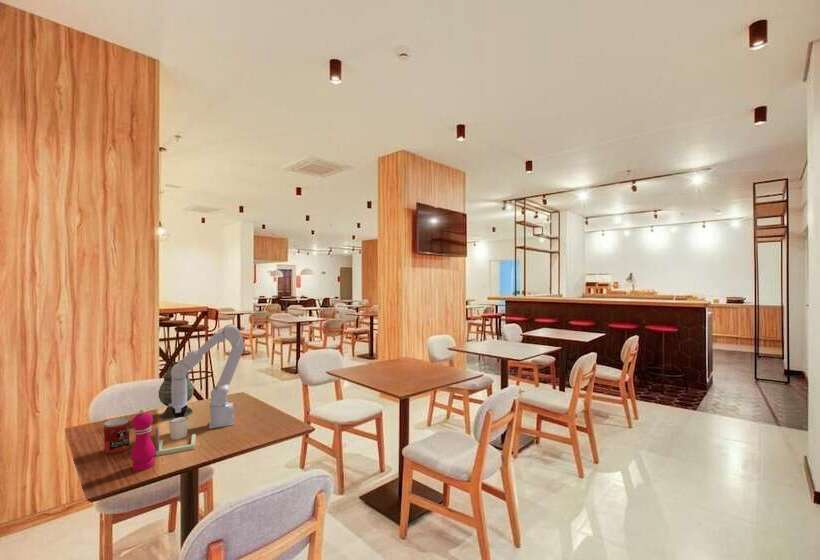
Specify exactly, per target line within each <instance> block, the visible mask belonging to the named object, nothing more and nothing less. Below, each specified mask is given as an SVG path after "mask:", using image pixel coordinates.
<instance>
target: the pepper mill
mask: <svg viewBox="0 0 820 560" xmlns="http://www.w3.org/2000/svg"><path fill="white" fill-rule="evenodd" d="M131 421H132V422H131V425H132V427H133V428H134V429H133V434H134V435H135V441H134V444H133V447H132V449H131V451H130V452H131V453H130V457H129V459H130V460H131V461H132V465H131V466H132V469H131V470H132V471H135V472H137V471H138V472H139V471H145V470H147V469H150V468H152V467H153V466H154V465H155V459H154V457H155V456H156V450H157V449H156V447H155V444H154V442H153V441H152V439H151V435H150V431H151V429H152V424H153V422H154V418H153V415H152V414H151V413H150V412H149V413H148V412H146V409H144V408H141V409H140V410H139V413H137V414H136V415H135V416H134V417H133V418H132V420H131Z"/></svg>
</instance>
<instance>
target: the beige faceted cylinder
mask: <svg viewBox="0 0 820 560" xmlns="http://www.w3.org/2000/svg"><path fill="white" fill-rule="evenodd" d="M188 423H189V417H188V416H186V417H178V418H174V419H171V420H168V425H169V434H170V439H171V440H180V439H184V438H186V437H187V435H188V425H189V424H188Z"/></svg>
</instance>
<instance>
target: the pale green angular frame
mask: <svg viewBox="0 0 820 560" xmlns="http://www.w3.org/2000/svg"><path fill="white" fill-rule="evenodd" d="M153 435H156V436H155V437H156V441H155V442H156V443H155V444H156V449H155V450H156V453H155V456H156V457H157V456H158V457H159V456H164V455H169V454H175V453H180V452H186V451H190V450H195V447H196V441H197V440H196V439H197V437H196V436H197V435H196V433H194V434H193V433H192V435H191V440H190V444H186V445H181V446H175V447H169V448H168V447H167V448H164V449H163V446H164V439H160V428H159V427H156V428H153V429H152V428H151V431H150V436H153Z"/></svg>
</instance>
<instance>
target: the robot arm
mask: <svg viewBox="0 0 820 560" xmlns="http://www.w3.org/2000/svg"><path fill="white" fill-rule="evenodd" d="M226 340H227V341H228V342H229V343H230V345H231V349H230V352H229V355H228V358H227V360H226V363H225V365H224V367H223V370H222V372H221V375H220V377H219V380H218V381H217V382H216V385H215V387H214V388H213V389H212V390H211V392H210V401H211V403H209V419H210V420H209V422H208V423H209V424H208V429H215V428H222V427H228V426H233V425H234V419H235V415H234V403H233V402H229V401H228V392H229V389H230V385H231V382H232V379H233V377H234V374H235V372H236V370H237V366H239V365H238V364H239V362H240V359H241V357H242V354H243V352H244V350H245V342H244V339H243V335H242V332H241V331H240V329H239V328H238V327H237V325H235V324H232V323H229V324H227V325H225V326H224V327H223V328H221V329H219V330H218V331H216V333H214V334H213V335H212V336H210V338H209V339H207V341H206V342H205V343H203V345H201V346H200V347H199V348H198V349H193V350H191V351H190V350H189V351H188V352H186V355H185V356H184V357H183V358H182V359H181V360H178V361H176V362H177V363H178V364H176V365H174V366H172V370H171V376H172V383H171V393H172V403H170V404H169V405H168V406H172V407H173V408H172V413H173V414H174V416H175V418H178V417H184V415H185V412H186V410H187V407H189V406H188V403H189V401H187V380H186V375H187V371H188V372H191V370H193V369H194V368H195V367H196V366H197V365H198V364H199V363H201V362H202V361H203V356H204V355H205V354H207V352H208V351H210V350H211V349H212V348H213V347H215V346H217V344H218V343H224V342H226ZM168 406H167V407H168Z"/></svg>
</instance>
